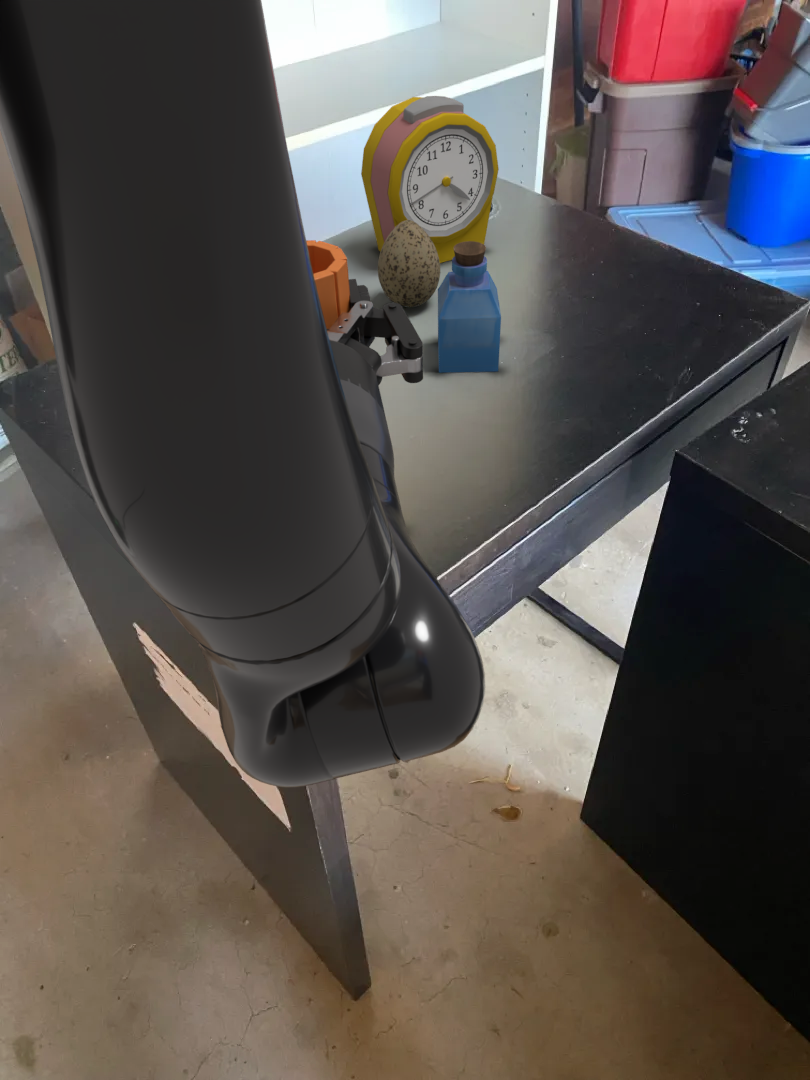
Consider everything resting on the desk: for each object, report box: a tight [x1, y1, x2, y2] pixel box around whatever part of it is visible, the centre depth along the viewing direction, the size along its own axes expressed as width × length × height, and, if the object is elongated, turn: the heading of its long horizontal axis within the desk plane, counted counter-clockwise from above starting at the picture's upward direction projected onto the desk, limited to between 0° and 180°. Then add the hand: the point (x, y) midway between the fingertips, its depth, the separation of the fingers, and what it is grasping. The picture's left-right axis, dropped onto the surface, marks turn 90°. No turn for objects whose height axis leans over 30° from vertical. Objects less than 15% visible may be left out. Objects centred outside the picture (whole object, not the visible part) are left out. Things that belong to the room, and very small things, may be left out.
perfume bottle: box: [437, 241, 502, 374], centre depth 84 cm, size 6×6×12 cm
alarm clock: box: [360, 95, 500, 264], centre depth 101 cm, size 15×8×18 cm, turn 118°
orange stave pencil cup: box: [306, 239, 350, 329], centre depth 56 cm, size 6×6×9 cm
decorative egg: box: [377, 220, 441, 308], centre depth 94 cm, size 7×7×10 cm
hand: (302, 296), depth 57 cm, fingers closed on orange stave pencil cup, 6 cm apart
